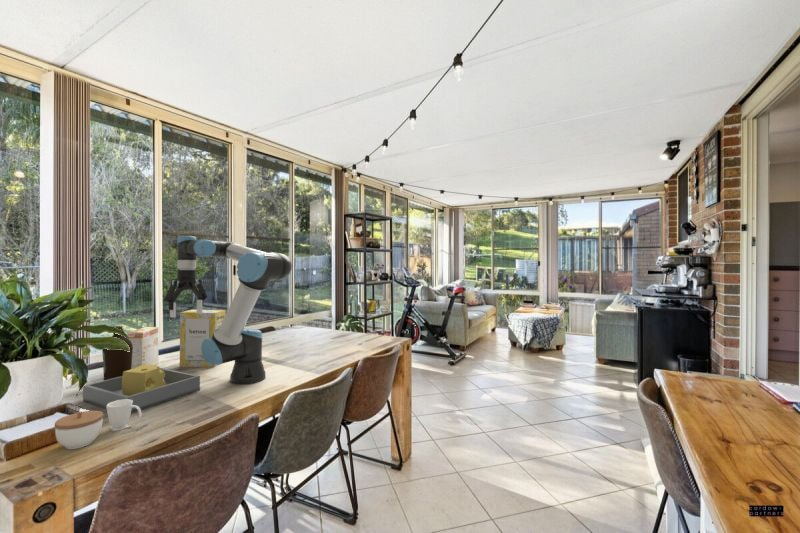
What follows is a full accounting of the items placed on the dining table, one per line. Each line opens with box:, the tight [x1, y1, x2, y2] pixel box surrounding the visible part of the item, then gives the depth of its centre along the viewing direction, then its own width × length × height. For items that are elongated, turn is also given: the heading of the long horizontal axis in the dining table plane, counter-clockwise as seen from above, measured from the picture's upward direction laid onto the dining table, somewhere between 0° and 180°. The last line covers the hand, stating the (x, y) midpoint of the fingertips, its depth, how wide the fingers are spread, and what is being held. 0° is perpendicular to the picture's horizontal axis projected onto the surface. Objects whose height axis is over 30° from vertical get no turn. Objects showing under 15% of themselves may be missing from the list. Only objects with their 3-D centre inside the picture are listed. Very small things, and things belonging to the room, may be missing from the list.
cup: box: [106, 399, 143, 432], centre depth 118 cm, size 7×10×8 cm
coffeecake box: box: [127, 326, 159, 369], centre depth 184 cm, size 15×7×20 cm, turn 6°
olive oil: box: [101, 325, 133, 381], centre depth 160 cm, size 11×11×25 cm
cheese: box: [122, 364, 166, 396], centre depth 146 cm, size 10×11×10 cm
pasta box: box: [179, 309, 227, 368], centre depth 192 cm, size 18×10×28 cm, turn 89°
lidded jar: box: [54, 410, 104, 450], centre depth 107 cm, size 11×11×9 cm
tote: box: [82, 367, 201, 414], centre depth 146 cm, size 28×28×6 cm
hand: (186, 315), depth 168 cm, fingers open, 13 cm apart
